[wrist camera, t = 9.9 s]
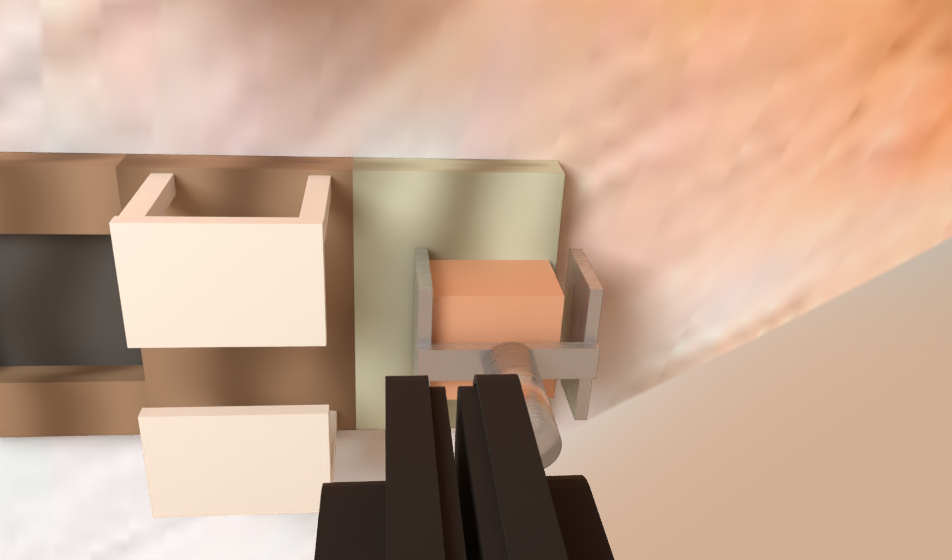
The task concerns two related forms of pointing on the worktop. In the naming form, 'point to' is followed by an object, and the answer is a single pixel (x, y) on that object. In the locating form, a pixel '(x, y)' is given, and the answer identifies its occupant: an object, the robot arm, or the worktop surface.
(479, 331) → the block
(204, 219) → the toy bench
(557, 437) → the slider
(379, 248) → the board
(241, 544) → the worktop surface
